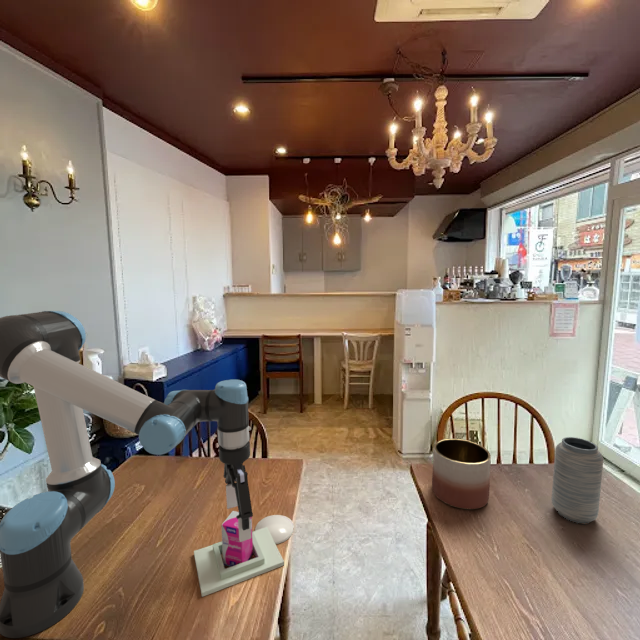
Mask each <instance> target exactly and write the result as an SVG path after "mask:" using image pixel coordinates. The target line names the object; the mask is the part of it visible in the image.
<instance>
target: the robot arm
mask: <svg viewBox="0 0 640 640" xmlns="http://www.w3.org/2000/svg"><path fill="white" fill-rule="evenodd" d="M86 333H87V332H86V330H85V327H84V325H83V324H82V322H81V321H80V320H79V319H78V318H77V317H75V316H74V315H73V314H71V313H69V312H66V311H64V310H63V311H61V310H42V311H37V312H31V313H22V314H15V315H14V314H12V315H6V316H1V317H0V378H2V379H4V380H6V381H7V382H10V383H12V384H14V385H15V384H16V385H17V384H18V385H19V384H25V383H26V384H28V385H30V386H32V387H33V390H34V395H35V399H36V404H37V409H38V413H39V417H40V423H41V428H42V431H43V435H44V436H43V437H44V441H45V444H46V450H47V456H48V458H49V463H50V470H51V471H50V473H49V474H48V475H47V476H46V478H45V483H46V484H45V485H46V487H47V491H43V492H40V493H37V494H34V495H32V497H31V498H30V497H29V498H25V499H23V500H22V501H20V502H19V503H16V504H15V505H13V507H11V508H10V509H9V510H8V511H7V512H6V513H5V515H4V516H3V518H2V519H1V520H0V561H1V568H2V569H1V570H2V575H3V576H2V577H3V583H4V589H3V592H2V596H1V599H0V635H1V636H3V637H4V638H8V639H21V638H27V637H30V636H33V635H36V634H39V633H40V632H42V631H45V630H47V629H49V628H50V627H52V626H54V625H55V624H57V623H58V622H59V621H61V620H62V619H64V618H65V617H66V616H67V615H68V614H69V613H70V612H71V611H73V610H74V608H75V607H76V606H77V605H78V603H79V601H80V600H81V598H82V597H83V594H84V589H85V586H84V585H85V584H84V577H83V574H82V573H81V571H80V569H79V568H78V566H77V564H76V563H75V561H74V560H73V558H72V548H71V541H72V539H74V537H75V536H76V535H77V534H78V533H79V532H80V531H81V530H82V529H83V528H85V526H86V525H87V524H88V523H89V522H90V521H91V520H92V519H93V518H94V517H95V516H96V515H97V514H98V513H99V512H101V511H102V510H103V508H104V507H106V505H107V503H108V502H109V501H110V499H111V498H112V496H113V495H114V491H115V488H116V487H115V486H116V483H115V482H116V481H115V477H114V475H113V472H112V471H111V469H108V468H107V466H106V465H104V464H103V463H101V461H102V460H101V459H98V458H96V457H94V456H93V454H92V453H93V451H92V449H91V443H90V438H89V434H88V429H87V424H86V419H85V414H84V411H86V412H88V413H90V414H92V415H95V416H97V417H99V418H101V419H104V420H106V421H107V422H110V423H112V424H114V425H117V426H118V427H120V428H123V429H125V430H127V431H130V432H131V433H133V434H136V435H138V441H139V443H140V445H141V446H142V447H143V449H144V450H145V451H146V452H147V453H149V454H151V455H155V456H156V455H165V454H168V453H169V452H170V451H172V450H173V449H174V448H176V447H177V446H178V445H180V443H181V442H182V441H183V440H184V438H185V437H186V435H188V433H189V432H190V431H191V430H192V429H193V428H194V427H195V426H196V425H197V424H198V423H199V422H202V423H203V422H216V423H217V428H216V429H217V441H218V442H217V443H218V445H219V446H218V459H219V461H220V462H221V464H224V466H223V469H224V470H223V478H224V482H225V493H226V495H225V497H226V509H227V510H229V509H232V508H236V507H237V510H238V512H239V515H238V516H236V518H237V519H238V526H239V541H240V542H242V541H245V540H248V539H251V523H250V517H252V518H253V517H254V512H253V508H252V501H251V494H250V488H249V479H248V478H249V477H248V475H249V474H248V471H246V467H245V466H246V465H243V463H245V462H246V461H247V460H249V458H250V456H251V443H250V432H249V431H251V430H252V427H251V426H249V423H250V422H249V396H248V390H247V389H248V387H247V383H246V382H245V381H243V380H242V379H241V380H240V379H226V380H225V379H224V380H221V381H219V382H217V383H216V384H215V387H214V389H209V390H208V389H181V390H173V391H169V393H168V394H166V398H165V399H164V402H161V401H158V400H156V399H154V398H152V397H150V396H148V395H146V394H143V393H141V392H140V391H138V390H135V389H133V388H131V387H129V386H127V385H125V384H123V383H121V382H119V381H116V380H115V379H112V378H110V377H108V376H107V375H104V374H102V373H100V372H98V371H96V370H94V369H92V368H89V367H87V366H85V365H83V364H80V362H81V359H80V350H81V349H82V348H83V346H84V345H85V342H86V339H87V334H86Z"/></svg>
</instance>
